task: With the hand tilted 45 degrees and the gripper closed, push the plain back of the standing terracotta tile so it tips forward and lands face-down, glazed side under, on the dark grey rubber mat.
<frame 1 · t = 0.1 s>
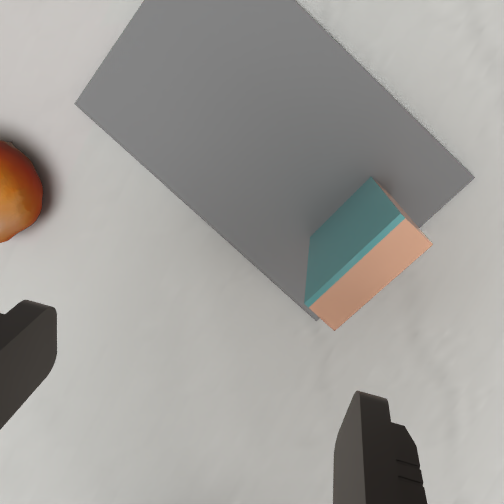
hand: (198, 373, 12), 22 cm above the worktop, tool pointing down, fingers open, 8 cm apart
tile: (349, 217, 32), point 1 cm above the worktop, touching mat
fruit: (10, 184, 36), on the worktop
mat: (267, 138, 31), on the worktop
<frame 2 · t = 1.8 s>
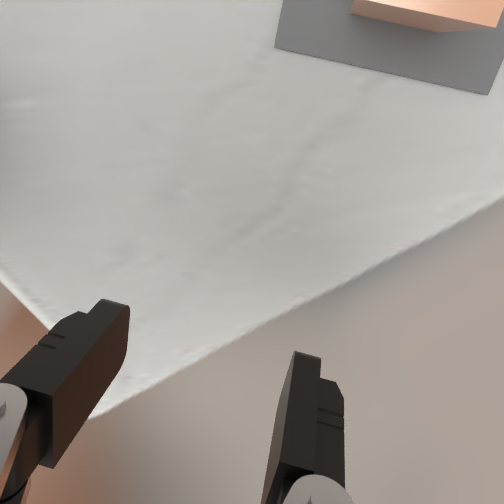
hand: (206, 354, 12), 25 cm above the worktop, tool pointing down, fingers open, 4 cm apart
tile: (398, 6, 29), point 1 cm above the worktop, touching mat
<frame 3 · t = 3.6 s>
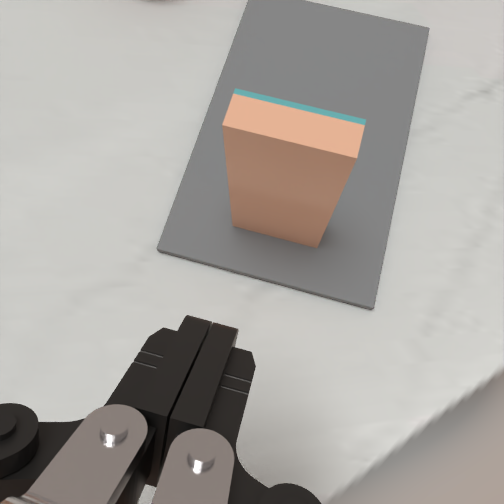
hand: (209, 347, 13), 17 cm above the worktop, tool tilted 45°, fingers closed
tile: (278, 224, 31), point 1 cm above the worktop, touching mat
mat: (304, 132, 34), on the worktop
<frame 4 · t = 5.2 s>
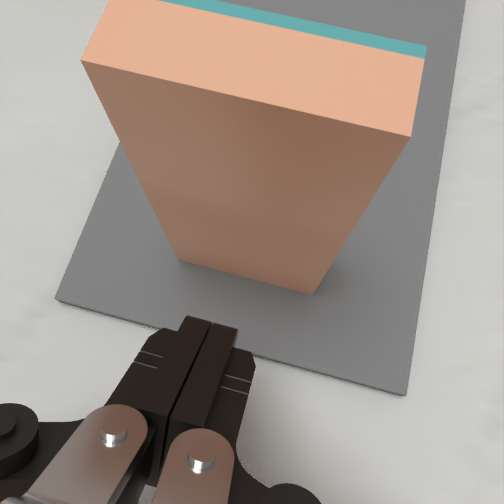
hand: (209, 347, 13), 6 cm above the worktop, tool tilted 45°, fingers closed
tile: (250, 256, 19), point 1 cm above the worktop, touching mat
mat: (291, 114, 23), on the worktop
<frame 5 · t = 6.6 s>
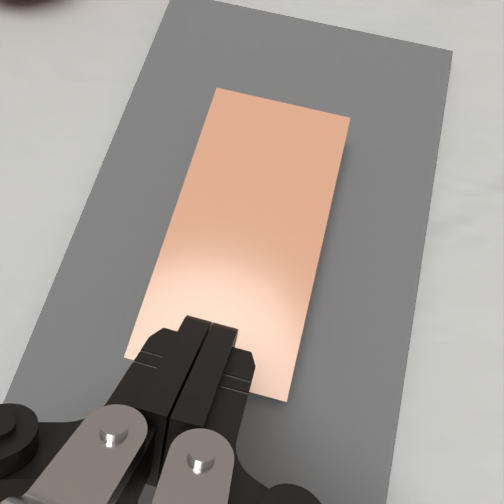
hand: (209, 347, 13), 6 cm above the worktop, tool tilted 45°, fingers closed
tile: (206, 380, 17), point 2 cm above the worktop, tilted 90°, touching mat
mat: (252, 231, 20), on the worktop
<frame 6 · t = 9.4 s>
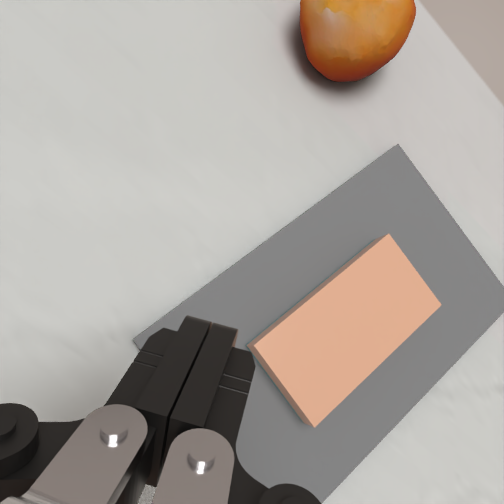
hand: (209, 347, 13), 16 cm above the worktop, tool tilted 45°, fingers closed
tile: (278, 385, 27), point 2 cm above the worktop, tilted 90°, touching mat
fruit: (332, 50, 35), on the worktop
mat: (344, 318, 31), on the worktop
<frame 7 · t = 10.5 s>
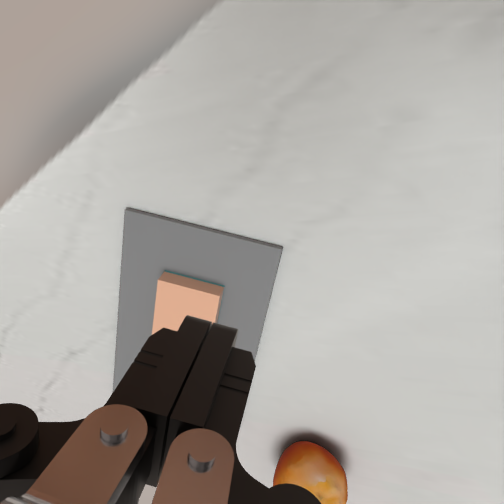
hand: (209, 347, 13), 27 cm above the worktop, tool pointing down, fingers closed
tile: (191, 282, 42), point 2 cm above the worktop, tilted 90°, touching mat
fruit: (311, 455, 51), on the worktop
mat: (188, 330, 47), on the worktop
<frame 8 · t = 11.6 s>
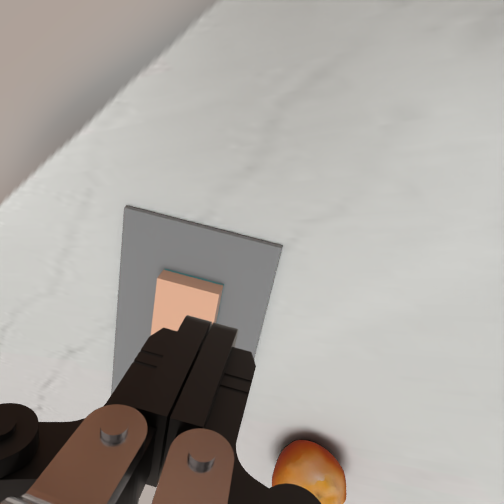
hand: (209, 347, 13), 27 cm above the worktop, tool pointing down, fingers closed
tile: (191, 281, 42), point 2 cm above the worktop, tilted 90°, touching mat
fruit: (310, 454, 51), on the worktop
mat: (187, 328, 47), on the worktop
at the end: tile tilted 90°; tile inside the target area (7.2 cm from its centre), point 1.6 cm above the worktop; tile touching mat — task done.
